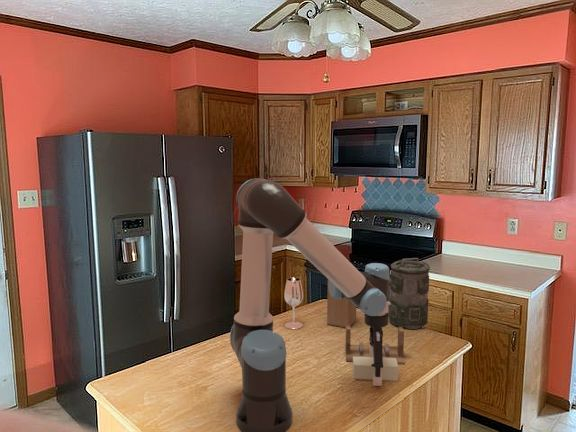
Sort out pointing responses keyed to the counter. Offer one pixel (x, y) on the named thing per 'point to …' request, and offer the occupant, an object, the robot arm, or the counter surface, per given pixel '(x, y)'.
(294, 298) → the wineglass
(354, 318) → the block
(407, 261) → the canister
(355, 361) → the cream rectangular block
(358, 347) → the peg frame
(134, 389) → the counter surface
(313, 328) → the counter surface
